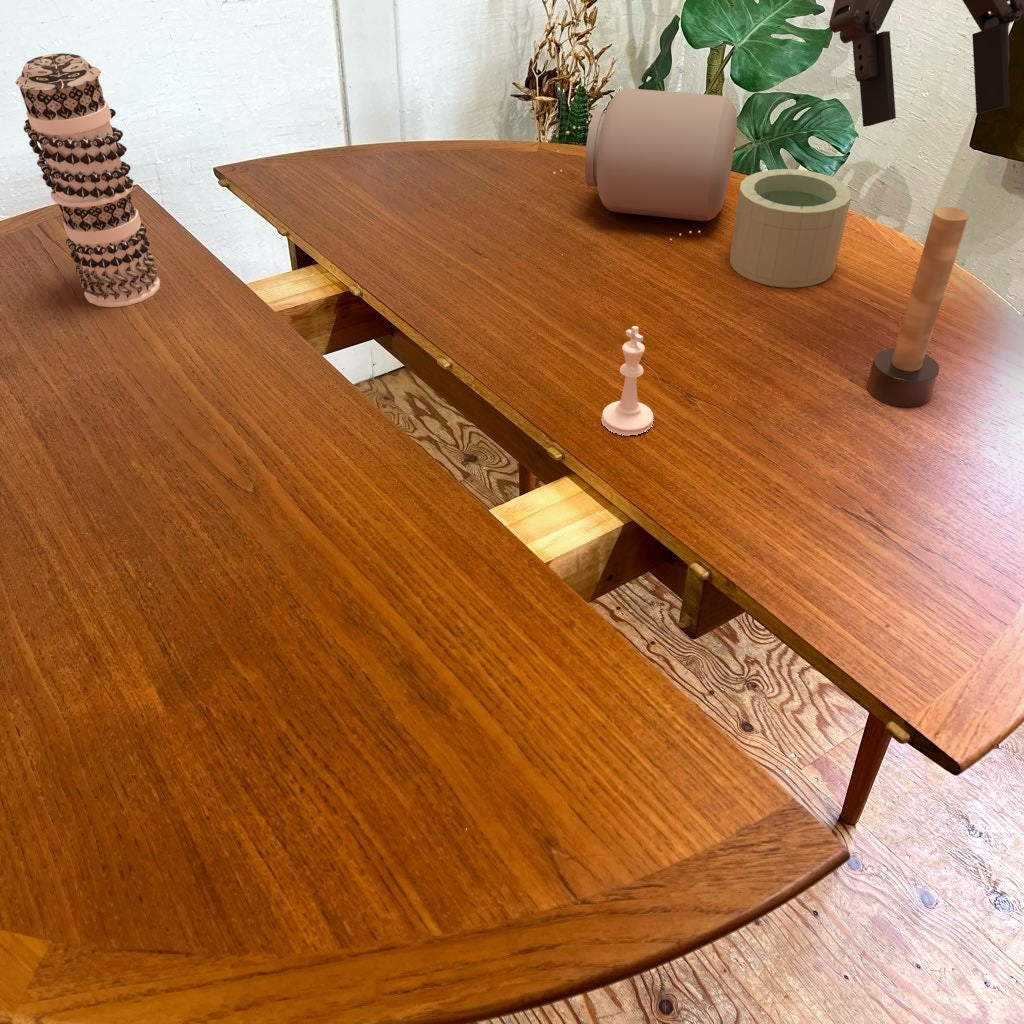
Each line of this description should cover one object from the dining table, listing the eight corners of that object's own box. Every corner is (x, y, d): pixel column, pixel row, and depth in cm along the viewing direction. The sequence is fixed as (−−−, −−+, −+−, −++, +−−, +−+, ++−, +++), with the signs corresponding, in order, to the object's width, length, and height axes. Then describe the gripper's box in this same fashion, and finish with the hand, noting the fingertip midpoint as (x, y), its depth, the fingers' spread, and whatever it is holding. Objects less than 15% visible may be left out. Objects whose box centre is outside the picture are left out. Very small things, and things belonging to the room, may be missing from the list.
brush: (928, 377, 95) (984, 202, 84) (933, 411, 91) (993, 231, 79) (865, 370, 96) (912, 196, 85) (867, 403, 92) (917, 224, 80)
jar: (700, 225, 111) (506, 163, 117) (700, 274, 125) (527, 216, 131) (762, 80, 112) (567, 25, 118) (755, 145, 127) (582, 93, 132)
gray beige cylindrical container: (834, 246, 118) (850, 173, 112) (834, 292, 109) (852, 216, 103) (733, 236, 120) (743, 165, 114) (725, 281, 111) (736, 206, 105)
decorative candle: (77, 280, 113) (1, 54, 97) (158, 265, 116) (97, 42, 100) (84, 315, 107) (3, 79, 91) (169, 298, 110) (105, 66, 93)
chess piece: (627, 399, 93) (634, 307, 86) (664, 422, 90) (675, 328, 84) (590, 419, 91) (595, 326, 84) (627, 443, 88) (635, 348, 81)
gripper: (986, -141, 84) (998, 114, 89) (766, -150, 74) (793, 138, 79) (1068, -185, 77) (1076, 94, 82) (839, -201, 67) (863, 117, 72)
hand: (938, 116), depth 80 cm, fingers open, 13 cm apart
